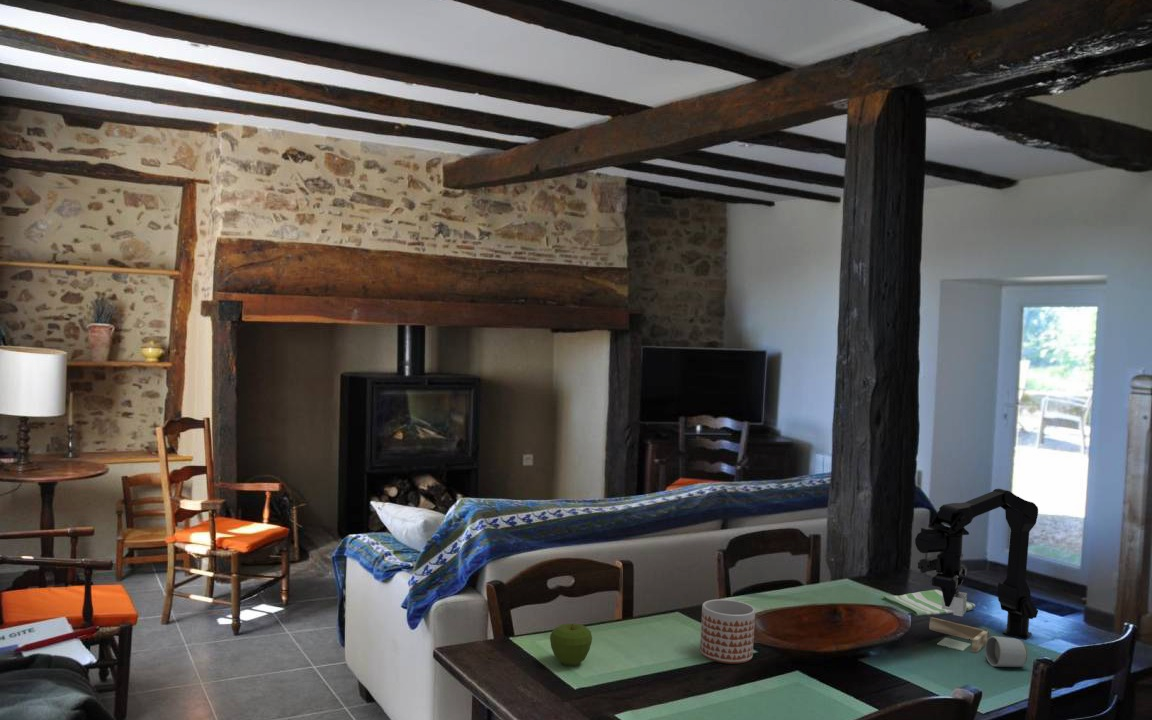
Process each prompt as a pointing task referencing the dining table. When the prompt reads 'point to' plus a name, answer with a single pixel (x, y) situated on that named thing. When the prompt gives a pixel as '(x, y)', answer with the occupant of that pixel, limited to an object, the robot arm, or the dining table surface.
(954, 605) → the bracket
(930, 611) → the dish towel
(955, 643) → the pad
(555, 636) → the apple
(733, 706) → the dining table surface
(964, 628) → the corner arena
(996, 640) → the ceramic mug
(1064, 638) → the dining table surface
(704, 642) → the planter
